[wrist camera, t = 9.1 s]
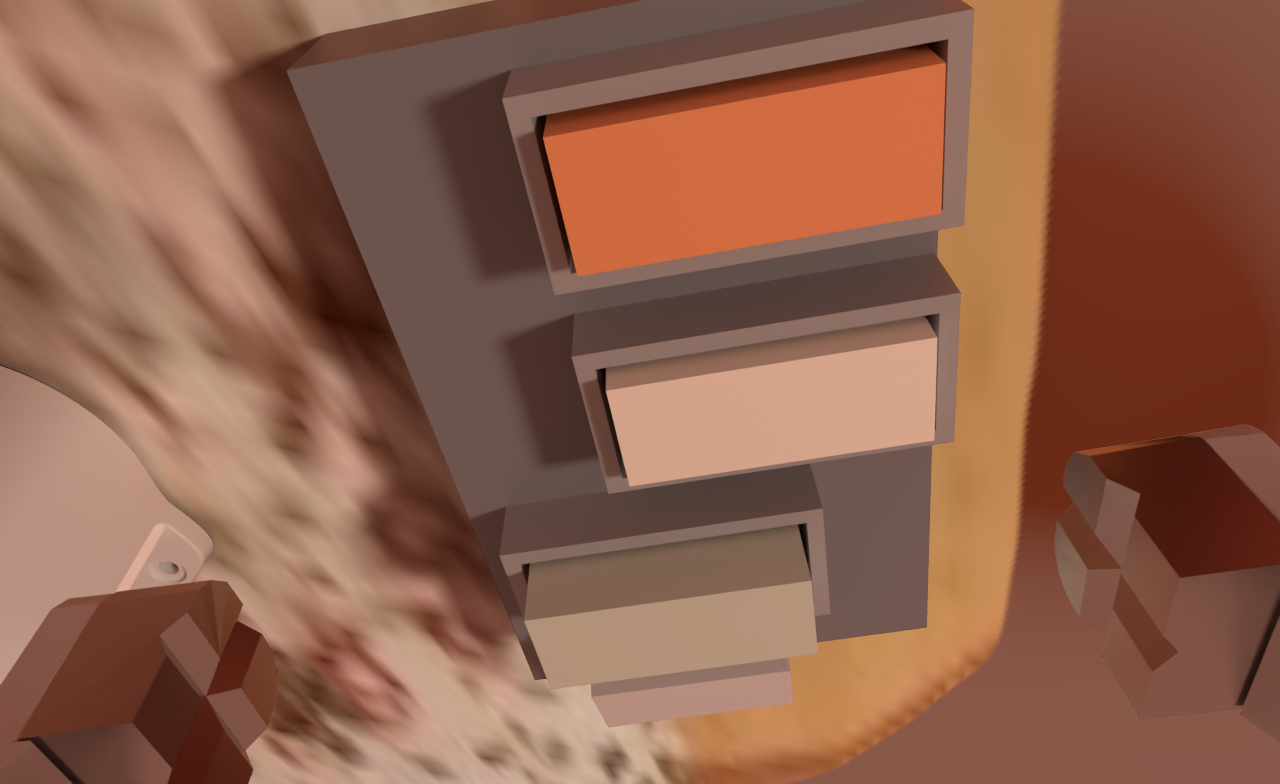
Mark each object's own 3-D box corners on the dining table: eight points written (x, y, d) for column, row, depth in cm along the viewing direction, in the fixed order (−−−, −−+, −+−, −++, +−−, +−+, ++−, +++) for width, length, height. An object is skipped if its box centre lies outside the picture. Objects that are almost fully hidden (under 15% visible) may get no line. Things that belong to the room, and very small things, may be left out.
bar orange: (909, 171, 26) (941, 213, 23) (580, 229, 26) (577, 276, 24) (910, 31, 23) (946, 62, 21) (549, 100, 24) (543, 137, 22)
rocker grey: (785, 662, 38) (792, 703, 37) (606, 686, 39) (608, 727, 37) (782, 628, 35) (790, 670, 34) (590, 654, 36) (591, 696, 35)
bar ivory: (908, 386, 30) (934, 440, 28) (628, 430, 31) (629, 486, 29) (909, 287, 28) (937, 337, 26) (606, 338, 29) (605, 390, 26)
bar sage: (803, 590, 34) (818, 653, 32) (555, 624, 35) (550, 689, 32) (795, 518, 32) (811, 580, 29) (530, 557, 33) (523, 620, 30)
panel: (902, 561, 42) (944, 676, 37) (540, 612, 43) (530, 730, 38) (903, -82, 26) (980, -42, 20) (325, 34, 27) (255, 100, 22)
